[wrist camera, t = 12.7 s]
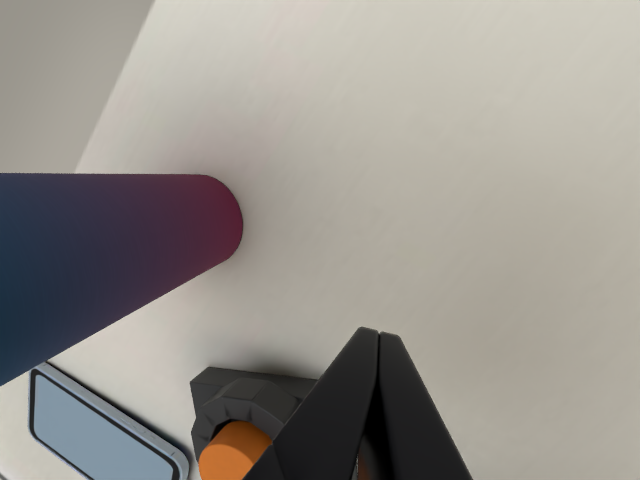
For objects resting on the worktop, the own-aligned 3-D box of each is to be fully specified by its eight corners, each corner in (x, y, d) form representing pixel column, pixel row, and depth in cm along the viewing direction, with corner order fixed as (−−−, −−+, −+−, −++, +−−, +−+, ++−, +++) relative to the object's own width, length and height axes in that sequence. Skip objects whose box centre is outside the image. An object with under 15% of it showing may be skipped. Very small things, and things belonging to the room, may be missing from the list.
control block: (364, 541, 22) (345, 608, 19) (231, 505, 25) (197, 556, 22) (346, 370, 20) (322, 412, 17) (205, 355, 23) (163, 387, 20)
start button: (285, 490, 19) (269, 521, 17) (225, 475, 20) (204, 502, 19) (276, 426, 18) (258, 451, 17) (214, 415, 20) (192, 438, 18)
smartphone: (28, 360, 29) (184, 464, 24) (42, 354, 30) (194, 453, 25) (27, 435, 31) (169, 542, 27) (39, 427, 32) (179, 530, 27)
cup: (182, 132, 20) (-401, 95, 7) (279, 206, 19) (-189, 341, 6) (140, 232, 23) (-341, 350, 9) (224, 302, 22) (-188, 554, 8)
